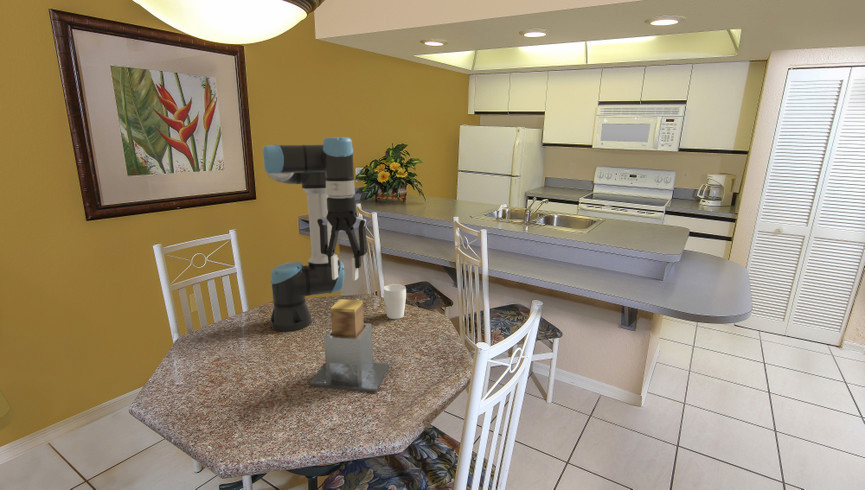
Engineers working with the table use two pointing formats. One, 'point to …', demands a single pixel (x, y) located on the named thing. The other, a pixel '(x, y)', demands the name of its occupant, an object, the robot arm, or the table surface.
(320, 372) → the chute
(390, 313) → the cup
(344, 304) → the block
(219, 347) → the table surface
